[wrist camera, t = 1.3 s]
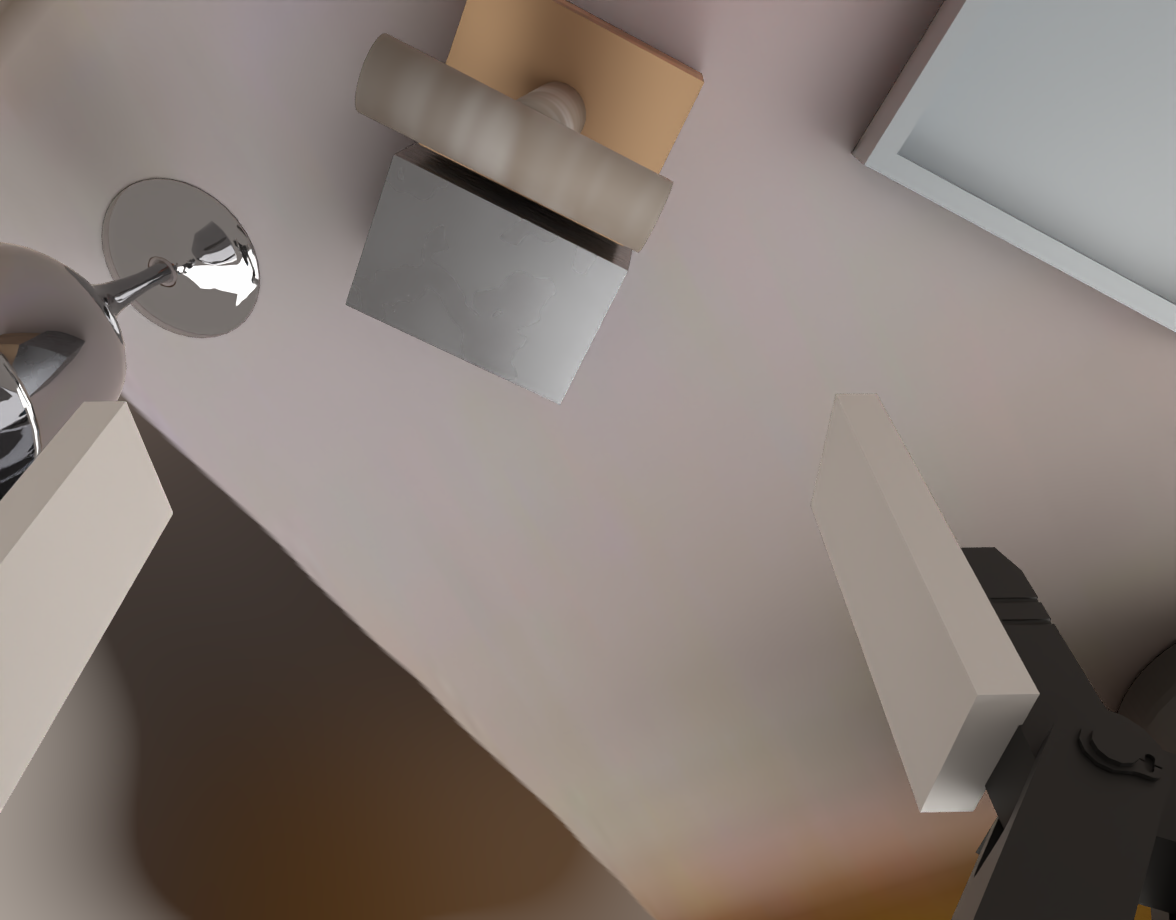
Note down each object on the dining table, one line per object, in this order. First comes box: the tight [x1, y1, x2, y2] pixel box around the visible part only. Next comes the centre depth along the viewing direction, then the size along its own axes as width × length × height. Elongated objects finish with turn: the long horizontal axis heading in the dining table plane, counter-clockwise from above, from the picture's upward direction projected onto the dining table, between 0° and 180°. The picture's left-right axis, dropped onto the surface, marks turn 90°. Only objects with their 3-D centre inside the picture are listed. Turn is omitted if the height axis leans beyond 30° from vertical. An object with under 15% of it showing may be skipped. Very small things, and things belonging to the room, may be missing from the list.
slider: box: [355, 0, 704, 253], centre depth 25 cm, size 8×6×12 cm
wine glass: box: [0, 178, 260, 500], centre depth 29 cm, size 8×8×15 cm
